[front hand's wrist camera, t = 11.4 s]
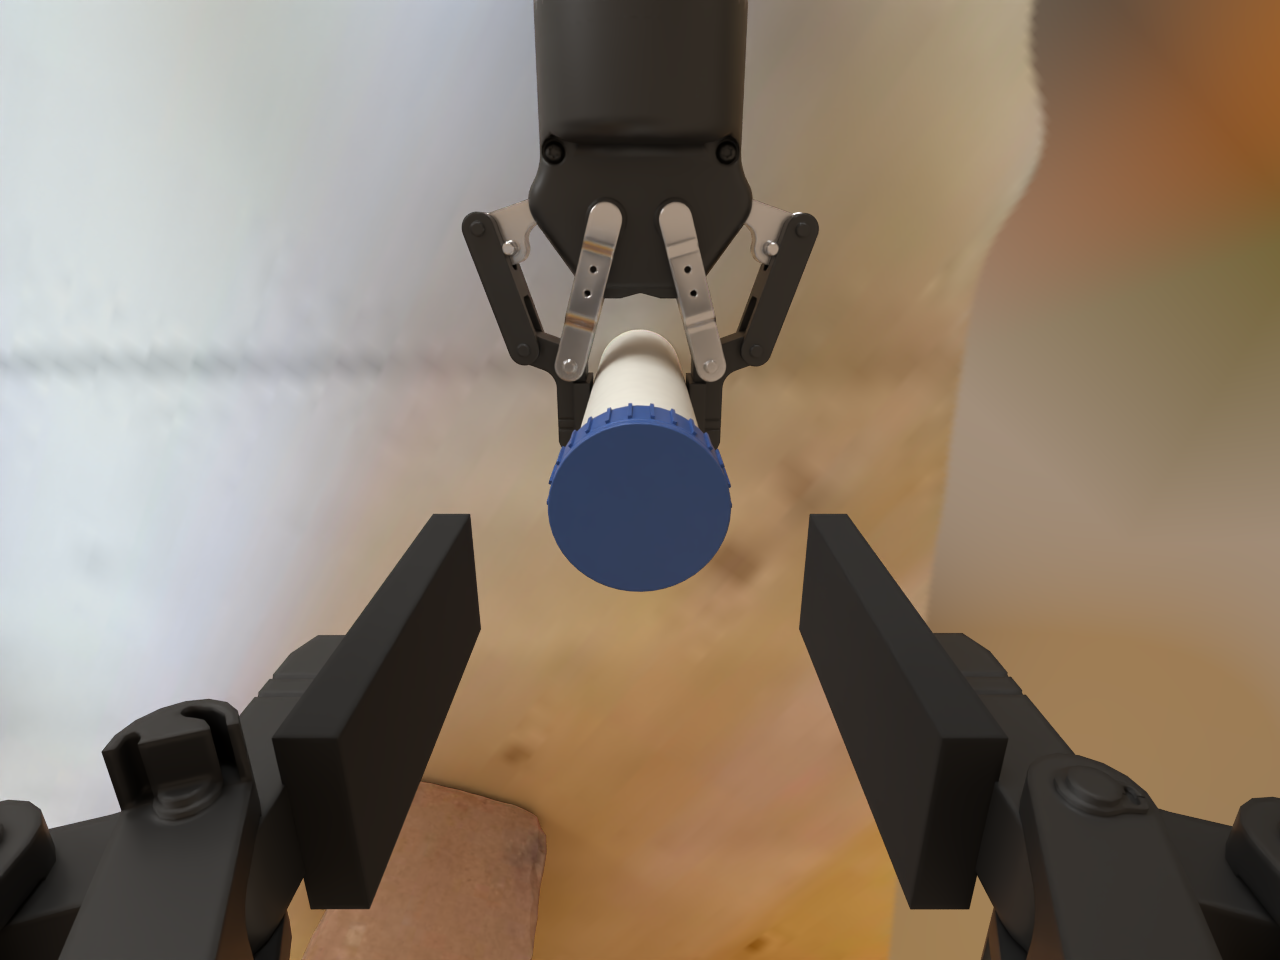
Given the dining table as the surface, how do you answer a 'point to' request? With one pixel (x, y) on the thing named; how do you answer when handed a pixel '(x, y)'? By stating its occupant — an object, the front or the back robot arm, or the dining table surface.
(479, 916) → the stone
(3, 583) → the dining table surface
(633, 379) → the white cylinder
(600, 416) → the lid
